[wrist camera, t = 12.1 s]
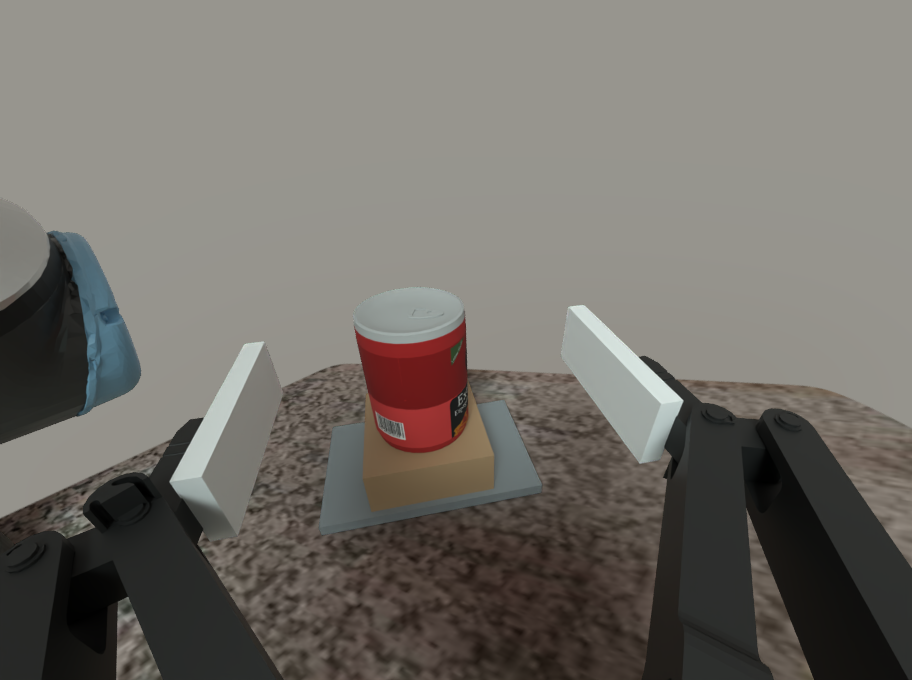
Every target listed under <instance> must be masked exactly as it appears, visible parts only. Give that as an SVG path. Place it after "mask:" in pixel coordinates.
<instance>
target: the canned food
mask: <svg viewBox="0 0 912 680" xmlns="http://www.w3.org/2000/svg"><path fill="white" fill-rule="evenodd" d="M353 319H354V328H355V333H356V339H357V344H358V348H359V353H360V357H361V362H362V366H363V371H364V375H365V380H366V384H367V389H368V393H369V398H370V402H371V407H372V411H373V416H374V420H375V424H376V428H377V430H378V432H379V433H380V435H381V436H382V437H383V439H384V440H385V441H386V442H387V443H388V444H389V445H390V446H392V447H394V448H396V449H398V450H401V451H404V452H411V453H425V452H432V451H435V450H439V449H442V448H444V447H446V446H448V445H450V444H451V443H452V442H454V441H455V440H456V439H457V438H458V437H459V436H460V435H461V434H462V432H463V430H464V428H465V426H466V423H467V420H468V381H467V349H466V323H465V311H464V305H463V302H462V301H461V300H460V299H459V298H458V297H457V296H456V295H454V294H452V293H449V292H447V291H443V290H439V289H433V288H422V287H416V288H415V287H414V288H402V289H396V290H391V291H387V292H383V293H380V294H378V295H375V296H373V297H371V298H369V299H367V300H365V301H364V302H362V303H361V304H360V305H359V306H358V307H357V308H356V309H355V311H354V314H353Z"/></svg>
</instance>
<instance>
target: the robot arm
mask: <svg viewBox="0 0 912 680" xmlns="http://www.w3.org/2000/svg"><path fill="white" fill-rule="evenodd" d="M561 357H562V358H563V360H564V362H565V363H566V364H567V365H568V367H569V368H570V369H571V371H572V372H573V374H574V375H575V376H576V378H577V379H578V380H579V382H580V383H581V385H582V386H583V387H584V389H585V390H586V391H587V393H588V394H589V395H590V397H591V398H592V399H593V401H594V402H595V404H596V405H597V406H598V408H599V409H600V410H601V412H602V413H603V414H604V416H605V417H606V418H607V420H608V421H609V423H610V424H611V425H612V427H613V428H614V429H615V431H616V432H617V433H618V435H619V436H620V437H621V439H622V440H623V442H624V443H625V444H626V446H627V447H628V448H629V450H630V451H631V452H632V454H633V455H634V456H635V458H636V459H637V461H638V462H639V463H640V464H641V463H646V462H652V461H657V460H660V458H661V456H662V453H663V451H664V448H665V449H666V450H667V451H668V452H669V453H670V454H671V456H672V458H671V460H670V462H669V465H668V467H667V470H666V472H665V474H664V477H663V478H665V479H667V486H666V494H665V503H664V511H663V520H662V528H661V537H660V545H659V554H658V562H657V571H656V579H655V588H654V596H653V605H652V613H651V622H650V630H649V639H648V647H647V656H646V663H645V669H644V673H643V676H642V680H774V679H773V676H772V673H771V671H770V669H769V667H767V666H766V665H765V664H763V663H762V662H761V660H760V658H759V655H758V648H757V636H756V624H755V611H754V599H753V586H752V574H751V562H750V549H749V537H748V525H747V512H746V508H747V511H748V513H749V516H750V518H751V521H752V523H753V526H754V528H755V531H756V533H757V536H758V538H759V541H760V544H761V546H762V549H763V551H764V554H765V556H766V559H767V561H768V564H769V566H770V569H771V571H772V574H773V576H774V579H775V582H776V584H777V587H778V589H779V592H780V594H781V597H782V599H783V602H784V604H785V607H786V609H787V612H788V614H789V617H790V620H791V622H792V625H793V627H794V630H795V632H796V635H797V637H798V640H799V642H800V645H801V647H802V650H803V652H804V655H805V658H806V660H807V663H808V665H809V668H810V670H811V673H812V675H813V678H814V680H912V568H911V567H910V565H909V564H908V562H907V561H906V559H905V558H904V557H903V555H902V554H901V552H900V551H899V549H898V548H897V546H896V545H895V544H894V542H893V541H892V539H891V538H890V536H889V535H888V533H887V532H886V531H885V529H884V528H883V526H882V525H881V523H880V522H879V521H878V519H877V518H876V516H875V515H874V513H873V512H872V510H871V509H870V508H869V506H868V505H867V503H866V502H865V500H864V499H863V498H862V496H861V495H860V493H859V492H858V490H857V489H856V487H855V486H854V485H853V483H852V482H851V480H850V479H849V477H848V476H847V475H846V473H845V472H844V470H843V469H842V467H841V466H840V464H839V463H838V462H837V460H836V459H835V457H834V456H833V454H832V453H831V451H830V450H829V449H828V447H827V446H826V444H825V443H824V441H823V440H822V439H821V437H820V436H819V434H818V433H817V431H816V430H815V428H814V427H813V426H812V425H811V424H810V423H809V422H808V421H807V420H805V419H804V418H802V417H801V416H799V415H797V414H795V413H793V412H790V411H786V410H782V409H768V410H765V411H764V413H763V414H762V416H761V417H760V419H759V420H756V419H745V418H736V417H735V416H734V415H733V414H732V413H731V412H730V411H728V410H726V409H725V408H723V407H720V406H718V405H715V404H709V403H702V402H701V401H699V400H698V399H697V398H696V397H695V396H694V395H693V394H692V393H691V392H690V391H689V390H687V389H686V388H685V387H684V386H683V385H682V384H681V383H680V382H679V381H678V380H675V378H674V377H673V376H672V375H671V374H670V373H667V370H665V369H664V368H663V367H662V366H661V365H660V364H659V363H658V362H655V361H654V360H652V359H650V358H648V357H646V356H641V357H638V356H637V355H635V354H634V353H633V352H632V351H631V350H630V349H629V348H628V347H627V346H626V345H625V344H624V343H623V342H622V341H621V340H620V339H619V338H618V337H617V336H616V335H615V334H614V333H613V332H612V331H610V330H609V329H608V328H607V327H606V326H605V325H604V324H603V323H602V322H601V321H600V320H599V319H598V318H597V317H596V316H595V315H594V314H593V313H592V312H591V311H590V310H589V309H588V308H586V307H585V306H584V305H580V306H571V307H568V312H567V318H566V325H565V332H564V338H563V344H562V352H561ZM140 376H141V368H140V363H139V360H138V356H137V354H136V350H135V348H134V345H133V342H132V339H131V337H130V334H129V332H128V329H127V327H126V324H125V322H124V320H123V318H122V316H121V315H120V314H119V308H118V306H117V304H116V302H115V299H114V296H113V293H112V291H111V288H110V286H109V284H108V282H107V279H106V277H105V275H104V273H103V271H102V269H101V266H100V265H99V263H98V260H97V258H96V256H95V254H94V252H93V251H92V249H91V247H90V245H89V244H88V242H87V241H86V240H85V239H84V237H82V236H81V235H79V234H77V233H69V232H66V233H62V232H58V231H51V232H48V233H46V232H45V230H44V229H43V227H42V226H41V225H40V223H39V222H38V221H37V220H36V219H35V218H33V216H32V215H31V214H29V213H28V212H27V211H26V210H25V209H23V208H21V207H19V206H18V205H16V204H14V203H12V202H10V201H8V200H5V199H3V198H1V197H0V444H2V443H5V442H8V441H10V440H13V439H16V438H18V437H21V436H24V435H27V434H29V433H32V432H34V431H37V430H40V429H43V428H45V427H48V426H51V425H53V424H56V423H59V422H61V421H64V420H67V419H69V418H72V417H75V416H81V415H84V414H86V413H88V412H89V411H90V410H91V409H92V408H93V407H96V406H98V405H100V404H103V403H105V402H107V401H110V400H112V399H114V398H117V397H119V396H121V395H124V394H126V393H127V392H129V391H130V390H132V389H133V388H134V387H135V386H136V384H137V383H138V381H139V379H140ZM282 396H283V391H282V388H281V386H280V383H279V380H278V377H277V375H276V372H275V369H274V367H273V364H272V361H271V358H270V355H269V353H268V350H267V347H266V344H265V342H256V343H247V344H244V346H243V348H242V349H241V351H240V353H239V355H238V357H237V359H236V360H235V362H234V364H233V366H232V368H231V370H230V371H229V373H228V375H227V377H226V379H225V381H224V382H223V384H222V386H221V388H220V390H219V392H218V393H217V395H216V397H215V399H214V401H213V403H212V404H211V407H210V408H209V410H208V412H207V414H206V416H205V417H204V418H198V419H191V420H189V421H188V422H187V423H186V424H185V425H184V426H183V427H182V428H180V430H178V431H177V432H176V434H175V436H174V437H173V439H172V441H171V442H170V444H169V447H167V449H166V450H165V452H164V454H163V457H162V458H161V459H160V460H159V462H158V464H157V465H156V467H155V469H154V470H153V472H152V474H151V475H150V477H148V476H146V475H145V474H143V473H136V472H133V473H129V474H124V475H121V476H119V477H116V478H114V479H112V480H110V481H108V482H107V483H105V484H104V485H102V486H101V487H99V488H98V489H97V490H96V491H95V492H94V493H93V494H92V495H91V496H89V498H88V499H87V501H86V503H85V504H84V506H83V514H84V516H85V517H86V518H87V519H88V520H89V521H90V522H91V523H92V524H93V525H94V526H95V527H96V528H93V529H91V530H88V531H86V532H83V533H80V534H78V535H75V536H73V537H70V538H68V539H66V538H65V537H64V536H63V535H62V534H60V533H58V532H56V531H44V532H41V533H38V534H35V535H32V536H30V537H28V538H26V539H24V540H22V541H20V542H19V543H17V544H15V545H14V543H13V542H12V541H11V540H10V539H8V538H7V537H6V536H5V535H4V534H3V533H1V532H0V680H116V659H117V612H118V601H120V600H122V599H124V598H126V597H129V600H130V602H131V604H132V607H133V609H134V611H135V614H136V616H137V619H138V621H139V623H140V626H141V628H142V631H143V633H144V635H145V638H146V640H147V642H148V645H149V647H150V650H151V652H152V654H153V657H154V659H155V661H156V664H157V666H158V669H159V671H160V673H161V676H162V678H163V680H284V679H283V678H282V676H281V674H280V673H279V671H278V670H277V668H276V667H275V665H274V663H273V662H272V660H271V659H270V657H269V656H268V654H267V652H266V651H265V649H264V648H263V646H262V645H261V643H260V641H259V640H258V638H257V637H256V635H255V634H254V632H253V630H252V629H251V627H250V626H249V624H248V623H247V621H246V619H245V618H244V616H243V615H242V613H241V612H240V610H239V608H238V607H237V605H236V604H235V602H234V600H233V599H232V597H231V596H230V594H229V593H228V591H227V589H226V588H225V586H224V585H223V583H222V582H221V580H220V578H219V577H218V575H217V574H216V572H215V571H214V569H213V567H212V566H211V564H210V563H209V561H208V560H207V558H206V556H205V555H204V553H203V552H202V550H201V549H200V547H199V546H198V545H197V543H198V541H199V538H200V536H201V533H202V531H204V533H205V534H206V536H207V537H208V539H209V540H210V541H215V540H220V539H226V538H231V537H237V536H238V534H239V531H240V528H241V525H242V522H243V518H244V515H245V512H246V509H247V506H248V503H249V500H250V496H251V493H252V490H253V487H254V484H255V481H256V478H257V474H258V471H259V468H260V465H261V462H262V459H263V456H264V452H265V449H266V446H267V443H268V440H269V437H270V434H271V430H272V427H273V424H274V421H275V418H276V415H277V411H278V408H279V405H280V402H281V399H282Z"/></svg>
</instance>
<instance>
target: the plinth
mask: <svg viewBox="0 0 912 680" xmlns="http://www.w3.org/2000/svg"><path fill="white" fill-rule="evenodd" d="M467 381H468V378H467ZM541 491H542V483H541V481H540V479H539V477H538V475H537V472H536V470H535V468H534V466H533V463H532V461H531V459H530V457H529V455H528V452H527V450H526V448H525V446H524V443H523V441H522V439H521V437H520V434H519V432H518V430H517V428H516V426H515V423H514V421H513V419H512V417H511V414H510V412H509V410H508V408H507V406H506V403H505V401H504V400H500V401H494V402H488V403H482V404H476V401H475V399H474V396H473V393H472V390H471V387H470V384H469V381H468V420H467V423H466V426H465V428H464V430H463V432H462V434H461V435H460V436H459V437H458V438H457V439H456V440H455V441H454V442H452V443H451V444H450V445H448V446H446V447H444V448H442V449H439V450H435V451H432V452H425V453H411V452H404V451H401V450H398V449H396V448H394V447H392V446H390V445H389V444H388V443H387V442H386V441H385V440H384V439H383V437H382V436H381V435H380V433H379V432H378V430H377V428H376V424H375V420H374V416H373V411H372V407H371V402H370V398H369V393H367V394H366V404H365V422H362V423H356V424H349V425H343V426H337V427H333V430H332V437H331V444H330V451H329V458H328V465H327V472H326V480H325V487H324V494H323V501H322V508H321V515H320V522H319V530H320V532H321V535H326V534H332V533H337V532H342V531H347V530H352V529H357V528H362V527H367V526H373V525H378V524H383V523H388V522H393V521H398V520H403V519H409V518H414V517H419V516H424V515H429V514H434V513H439V512H444V511H450V510H455V509H460V508H465V507H470V506H475V505H480V504H486V503H491V502H496V501H501V500H506V499H511V498H516V497H521V496H527V495H532V494H537V493H541Z"/></svg>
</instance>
